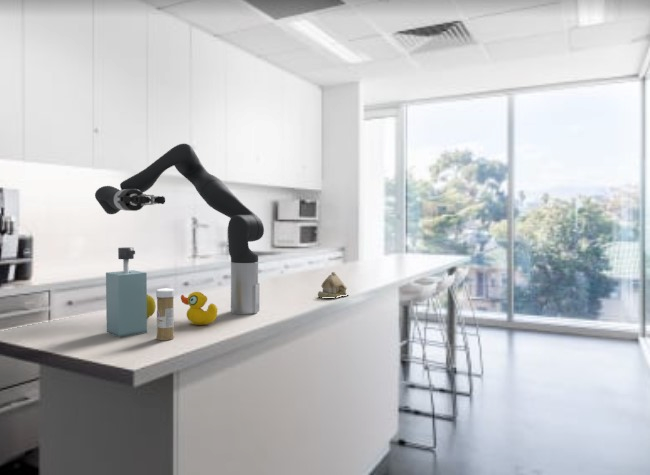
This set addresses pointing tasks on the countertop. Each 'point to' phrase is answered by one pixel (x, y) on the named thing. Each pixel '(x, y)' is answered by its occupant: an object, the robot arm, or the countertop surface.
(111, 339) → the countertop surface
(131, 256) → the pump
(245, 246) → the robot arm
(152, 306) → the lemon
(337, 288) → the ceramic model
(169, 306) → the sprinkles bottle
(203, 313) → the duckling
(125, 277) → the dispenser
